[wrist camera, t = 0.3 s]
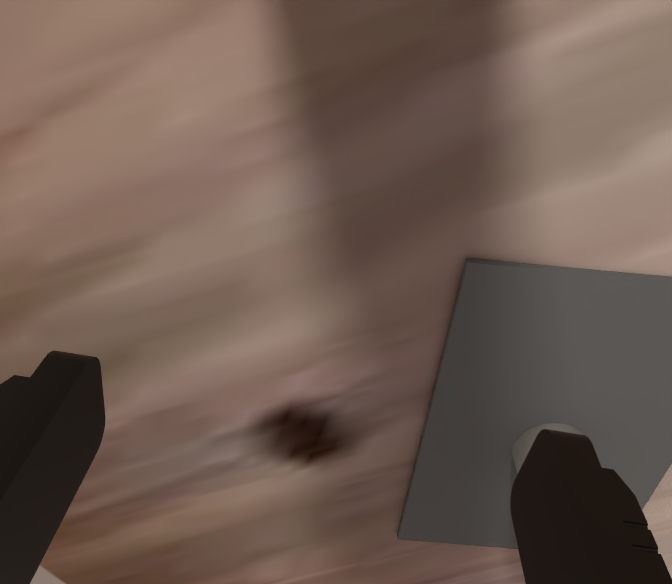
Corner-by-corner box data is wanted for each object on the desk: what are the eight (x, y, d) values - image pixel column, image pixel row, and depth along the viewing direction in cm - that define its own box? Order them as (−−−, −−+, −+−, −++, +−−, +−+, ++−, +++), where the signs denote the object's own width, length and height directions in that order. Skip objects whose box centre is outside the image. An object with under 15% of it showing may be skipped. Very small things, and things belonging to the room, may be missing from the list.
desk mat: (466, 258, 30) (467, 262, 29) (776, 286, 30) (780, 290, 30) (397, 534, 43) (397, 539, 43) (610, 551, 44) (612, 556, 43)
